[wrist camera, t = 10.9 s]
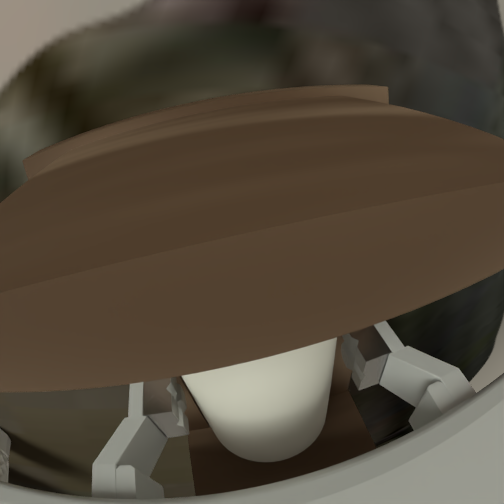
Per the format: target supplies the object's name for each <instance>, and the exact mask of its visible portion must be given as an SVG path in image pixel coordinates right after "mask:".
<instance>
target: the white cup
mask: <svg viewBox="0 0 504 504" xmlns="http://www.w3.org/2000/svg"><path fill="white" fill-rule="evenodd" d="M10 446H11V440H10V438H9V436H8V435H7V434H6V433H5V432H4V431H3V430H1V429H0V481H4V482H7V483H8V473H9V460H8V459H9V453H10Z"/></svg>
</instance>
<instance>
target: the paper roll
mask: <svg viewBox="0 0 504 504" xmlns="http://www.w3.org/2000/svg"><path fill="white" fill-rule="evenodd" d="M336 341H337V337H336V338H333V339H330V340H327V341H323V342H320V343H317V344H313V345H310V346H307V347H303V348H300V349H296V350H292V351H289V352H285V353H281V354H278V355H274V356H270V357H266V358H262V359H258V360H254V361H250V362H246V363H241V364H237V365H233V366H228V367H224V368H219V369H214V370H209V371H204V372H199V373H194V374H189V375H183V376H182V378H183V380H184V381H185V383H186V385H187V387H188V389H189V391H190V392H191V394H192V396H193V398H194V399H195V401H196V403H197V405H198V406H199V408H200V410H201V412H202V413H203V415H204V417H205V418H206V420H207V422H208V423H209V425H210V427H211V428H212V430H213V431H214V433H215V435H216V436H217V438H218V439H219V441H220V442H221V443H222V444H223V445H224V446H225V447H226V448H227V449H228V450H229V451H231V452H232V453H234V454H235V455H237V456H239V457H241V458H244V459H247V460H251V461H256V462H276V461H281V460H285V459H288V458H291V457H293V456H295V455H297V454H299V453H301V452H302V451H304V450H305V449H306V448H308V447H309V446H310V445H311V444H312V443H313V442H314V441H315V440H316V438H317V437H318V436H319V434H320V432H321V430H322V428H323V426H324V423H325V419H326V413H327V407H328V401H329V394H330V388H331V381H332V374H333V366H334V358H335V350H336Z"/></svg>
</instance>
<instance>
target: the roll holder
mask: <svg viewBox="0 0 504 504" xmlns="http://www.w3.org/2000/svg"><path fill="white" fill-rule="evenodd" d="M23 164H24V168H25V171H26V174H27V177H28V181H27V182H26V183H24V184H23V185H22V186H20V187H19V188H18V189H17V190H16V191H14V192H13V193H12V194H11V195H10V196H8V197H7V198H6V199H5V200H4V201H2V202H1V203H0V392H42V391H62V390H76V389H88V388H98V387H108V386H117V385H125V384H132V383H140V382H147V381H153V380H160V379H166V378H172V377H176V381H177V383H178V384H180V385H181V387H182V389H183V391H184V394H185V398H186V404H187V409H186V411H185V412H184V414H185V415H186V417H187V418H188V424H189V435H188V441H189V450H190V458H191V465H192V473H193V480H194V486H195V493H196V496H202V495H210V494H218V493H225V492H231V491H237V490H242V489H248V488H253V487H258V486H262V485H267V484H271V483H275V482H279V481H283V480H287V479H291V478H295V477H298V476H302V475H305V474H309V473H312V472H315V471H318V470H321V469H324V468H327V467H330V466H333V465H336V464H339V463H342V462H344V461H347V460H350V459H352V458H355V457H357V456H360V455H362V454H365V453H367V452H370V451H372V450H374V449H377V448H376V446H375V444H374V442H373V440H372V438H371V436H370V434H369V432H368V430H367V427H366V425H365V423H364V421H363V419H362V417H361V415H360V413H359V411H358V409H357V407H356V405H355V403H354V401H353V399H352V397H351V395H350V393H349V391H348V387H349V382H350V378H351V373H352V370H350V369H348V368H347V367H346V365H345V363H344V361H343V358H342V354H341V344H342V343H343V342H344V341H345V340H344V339H343V337H342V335H345V334H348V333H352V332H354V331H357V330H360V329H363V328H366V327H369V326H372V325H375V324H378V323H380V322H383V321H386V320H388V319H391V318H394V317H396V316H399V315H402V314H404V313H407V312H409V311H412V310H414V309H417V308H419V307H422V306H424V305H427V304H429V303H432V302H434V301H436V300H439V299H441V298H443V297H446V296H448V295H450V294H452V293H455V292H457V291H459V290H461V289H463V288H466V287H468V286H470V285H472V284H474V283H476V282H478V281H480V280H483V279H485V278H487V277H489V276H491V275H493V274H495V273H497V272H499V271H501V270H502V269H504V139H502V138H499V137H497V136H494V135H492V134H489V133H486V132H484V131H481V130H478V129H475V128H472V127H470V126H467V125H464V124H461V123H458V122H454V121H451V120H448V119H445V118H441V117H438V116H434V115H431V114H427V113H424V112H420V111H416V110H412V109H408V108H404V107H399V106H395V105H390V104H389V99H388V87H383V86H375V85H323V86H306V87H293V88H282V89H273V90H264V91H256V92H249V93H242V94H235V95H229V96H223V97H217V98H212V99H206V100H201V101H196V102H191V103H187V104H182V105H178V106H173V107H169V108H165V109H161V110H157V111H153V112H149V113H145V114H142V115H138V116H135V117H131V118H128V119H124V120H121V121H118V122H115V123H111V124H108V125H105V126H102V127H99V128H96V129H93V130H90V131H88V132H85V133H82V134H79V135H77V136H74V137H71V138H69V139H66V140H64V141H61V142H58V143H56V144H54V145H51V146H49V147H46V148H44V149H42V150H39V151H38V152H36V153H34V154H33V155H31V156H29V157H27V158H26V159H24V160H23ZM336 337H337V341H336V350H335V358H334V366H333V374H332V381H331V388H330V394H329V401H328V407H327V413H326V419H325V423H324V426H323V428H322V430H321V432H320V434H319V436H318V437H317V438H316V440H315V441H314V442H313V443H312V444H311V445H310V446H309V447H308V448H306V449H305V450H304V451H302V452H301V453H299V454H297V455H295V456H293V457H291V458H288V459H285V460H281V461H276V462H256V461H251V460H247V459H244V458H241V457H239V456H237V455H235V454H234V453H232V452H231V451H229V450H228V449H227V448H226V447H225V446H224V445H223V444H222V443H221V442H220V441H219V439H218V438H217V436H216V435H215V433H214V431H213V430H212V428H211V427H210V425H209V423H208V422H207V420H206V418H205V417H204V415H203V413H202V412H201V410H200V408H199V406H198V405H197V403H196V401H195V399H194V398H193V396H192V394H191V392H190V391H189V389H188V387H187V385H186V383H185V381H184V380H183V378H182V376H183V375H189V374H194V373H199V372H204V371H209V370H214V369H219V368H224V367H228V366H233V365H237V364H241V363H246V362H250V361H254V360H258V359H262V358H266V357H270V356H274V355H278V354H281V353H285V352H289V351H292V350H296V349H300V348H303V347H307V346H310V345H313V344H317V343H320V342H323V341H327V340H330V339H333V338H336Z"/></svg>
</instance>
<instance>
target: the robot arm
mask: <svg viewBox="0 0 504 504" xmlns="http://www.w3.org/2000/svg"><path fill="white" fill-rule="evenodd" d="M342 337H343V339H344V340H345V341H344V342H343V343H342V344H341V354H342V358H343V361H344V363H345V365H346V367H347V368H348V369H350V370H352V371H353V372H352V379H353V381H354V383H355V384H356V386H357V388H358V390H362V389H365V388H367V387H370V386H373V385H375V384H378V383H379V384H380V385H381V386H383V387H384V388H386V389H387V390H389V391H391V392H392V393H394V394H395V395H397V396H399V397H400V398H402V399H403V400H405V401H406V402H408V403H410V404H411V405H413V406H414V407H416V408H415V410H414V412H413V413H412V415H411V416H410V419H409V422H410V424H411V426H412V428H413V430H414V431H412V432H410V433H409V434H407V435H405V436H403V437H400V438H398V439H396V440H394V441H392V442H390V443H388V444H386V445H383V446H381V447H379V448H377V449H374V450H372V451H370V452H367V453H365V454H362V455H360V456H357V457H355V458H352V459H350V460H347V461H344V462H342V463H339V464H336V465H333V466H330V467H327V468H324V469H321V470H318V471H315V472H312V473H309V474H305V475H302V476H298V477H295V478H291V479H287V480H283V481H279V482H275V483H271V484H267V485H262V486H258V487H253V488H248V489H242V490H237V491H231V492H225V493H218V494H210V495H202V496H192V497H181V498H165V499H164V491H163V487H162V486H161V485H160V484H159V483H157V482H155V481H154V480H152V479H151V478H149V477H150V475H151V473H152V471H153V468H154V466H155V464H156V462H157V460H158V458H159V456H160V454H161V452H162V450H163V448H164V446H165V444H166V442H167V440H168V439H167V438H170V437H177V436H183V435H189V424H188V418H187V417H186V415H185V414H184V412H185V411H186V409H187V404H186V398H185V394H184V391H183V389H182V387H181V385H180V384H178V383H177V381H176V377H172V378H166V379H160V380H153V381H147V382H140V383H132V384H130V391H129V411H128V418H124V419H123V421H122V422H121V424H120V425H119V427H118V428H117V430H116V431H115V433H114V434H113V435H112V437H111V438H110V440H109V441H108V443H107V444H106V446H105V447H104V448H103V450H102V451H101V453H100V454H99V456H98V457H97V459H96V460H95V462H94V463H93V470H92V497H84V496H75V495H67V494H60V493H54V492H48V491H42V490H37V489H32V488H27V487H23V486H19V485H15V484H11V483H7V482H4V481H0V504H504V373H503V374H502V375H501V376H499V377H498V378H497V379H495V380H494V381H493V382H491V383H490V384H489V385H487V386H486V387H484V388H483V389H482V390H480V391H479V392H477V393H476V392H475V390H474V389H473V388H472V386H471V385H470V384H469V382H468V381H467V379H466V378H465V376H464V375H463V374H462V372H461V371H460V369H459V368H457V367H454V366H452V365H450V364H448V363H445V362H443V361H441V360H439V359H436V358H434V357H432V356H430V355H427V354H425V353H423V352H421V351H419V350H416V349H414V348H412V347H410V346H406V347H404V345H403V344H402V342H401V341H400V340H399V338H398V337H397V335H396V334H395V333H394V331H393V330H392V329H391V327H390V326H389V325H388V323H387V322H386V321H383V322H380V323H378V324H375V325H372V326H369V327H366V328H363V329H360V330H357V331H354V332H352V333H348V334H345V335H342Z"/></svg>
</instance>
